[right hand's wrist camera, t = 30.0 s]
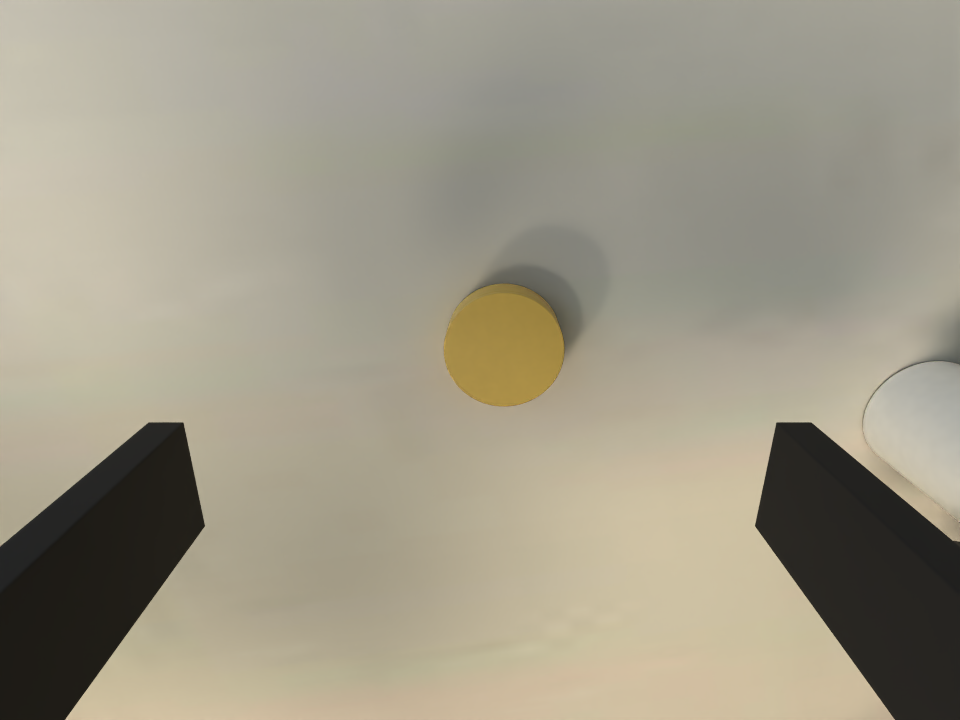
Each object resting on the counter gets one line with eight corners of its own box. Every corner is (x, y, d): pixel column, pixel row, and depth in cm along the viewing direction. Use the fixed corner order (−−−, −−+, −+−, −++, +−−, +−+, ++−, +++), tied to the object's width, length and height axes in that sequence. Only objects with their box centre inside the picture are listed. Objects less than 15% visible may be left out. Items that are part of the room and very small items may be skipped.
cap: (477, 406, 23) (476, 423, 22) (427, 312, 22) (422, 324, 21) (577, 364, 22) (583, 378, 21) (532, 263, 21) (534, 272, 20)
